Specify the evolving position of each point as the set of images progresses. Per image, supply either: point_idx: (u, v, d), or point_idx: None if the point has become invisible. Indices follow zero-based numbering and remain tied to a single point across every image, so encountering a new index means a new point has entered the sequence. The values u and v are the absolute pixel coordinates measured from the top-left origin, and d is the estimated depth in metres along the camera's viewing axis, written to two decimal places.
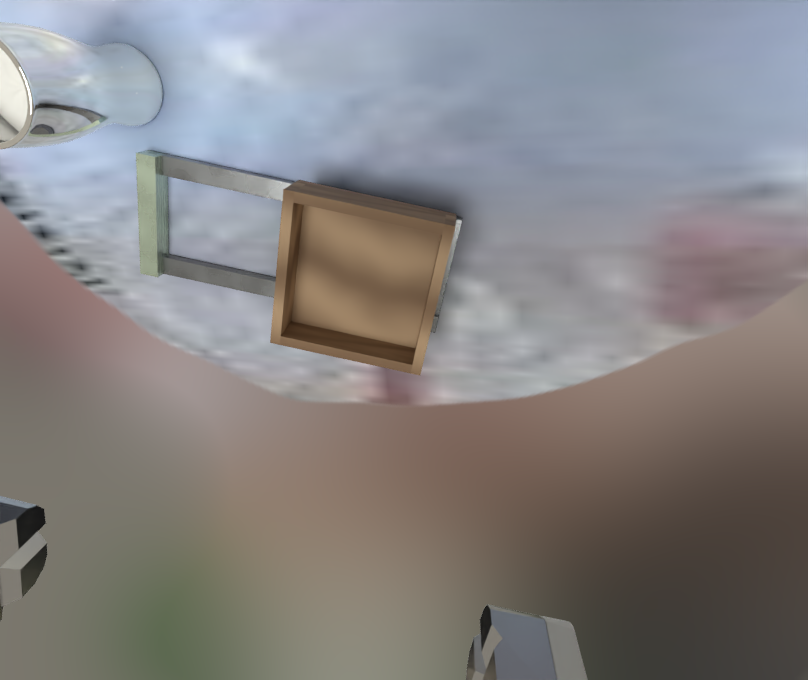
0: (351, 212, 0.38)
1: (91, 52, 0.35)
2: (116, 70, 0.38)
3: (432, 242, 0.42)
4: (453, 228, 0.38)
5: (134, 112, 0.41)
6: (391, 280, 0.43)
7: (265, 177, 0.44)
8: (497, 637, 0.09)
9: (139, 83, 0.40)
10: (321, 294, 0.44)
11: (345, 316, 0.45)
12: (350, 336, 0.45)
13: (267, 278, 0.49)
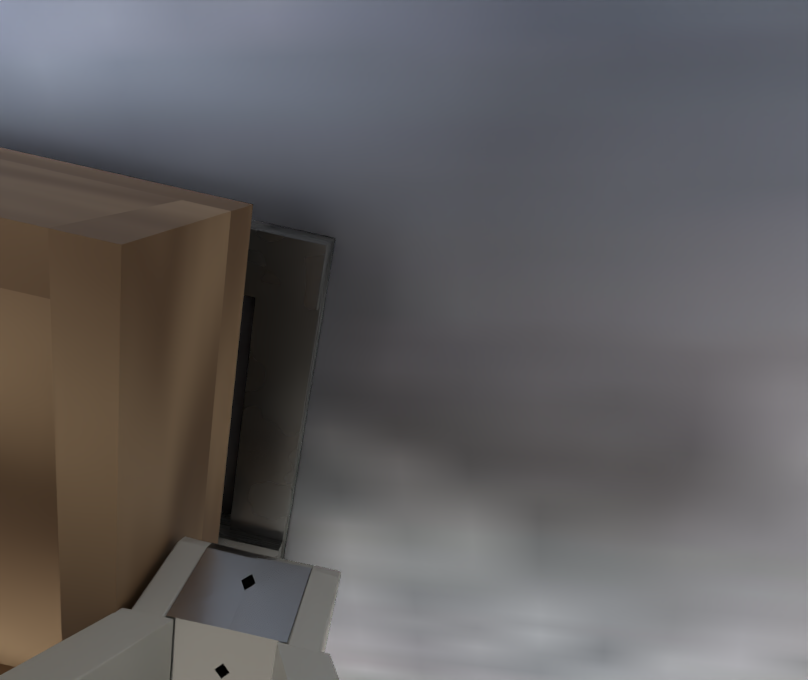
0: None
1: None
2: None
3: None
4: (110, 258, 0.06)
5: None
6: (11, 475, 0.11)
7: None
8: (252, 583, 0.09)
9: None
10: None
11: None
12: None
13: None
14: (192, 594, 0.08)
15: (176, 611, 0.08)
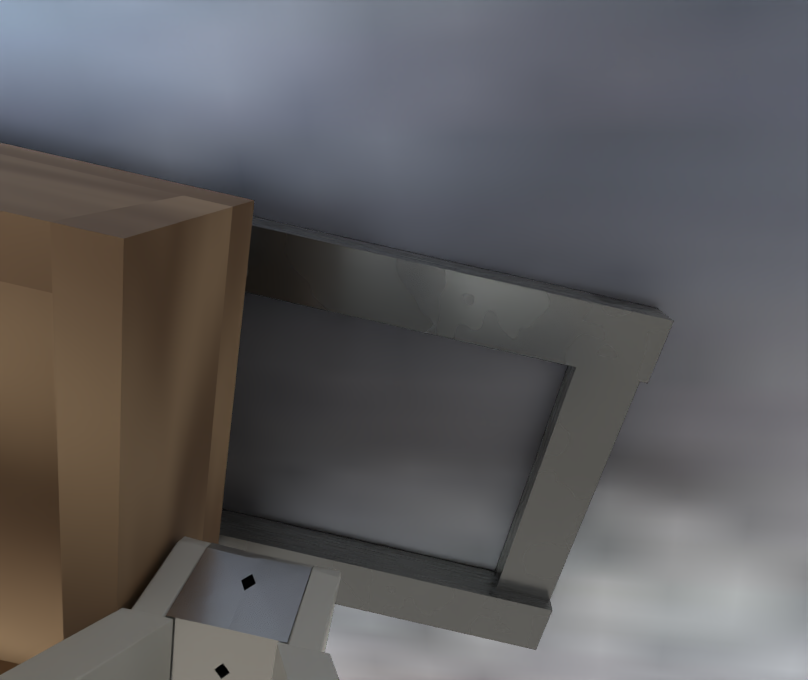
0: None
1: None
2: None
3: None
4: (112, 252, 0.06)
5: None
6: (13, 471, 0.11)
7: None
8: (253, 583, 0.09)
9: None
10: None
11: None
12: None
13: None
14: (192, 594, 0.08)
15: (176, 611, 0.08)
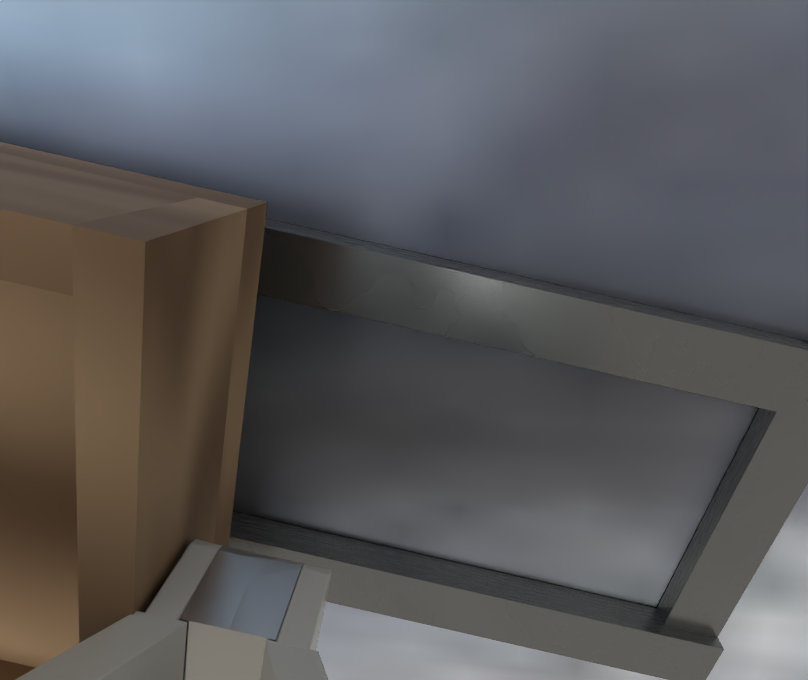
0: None
1: None
2: None
3: None
4: (134, 255, 0.06)
5: None
6: (24, 473, 0.11)
7: None
8: (242, 581, 0.09)
9: None
10: None
11: None
12: None
13: None
14: (205, 597, 0.08)
15: (189, 614, 0.08)
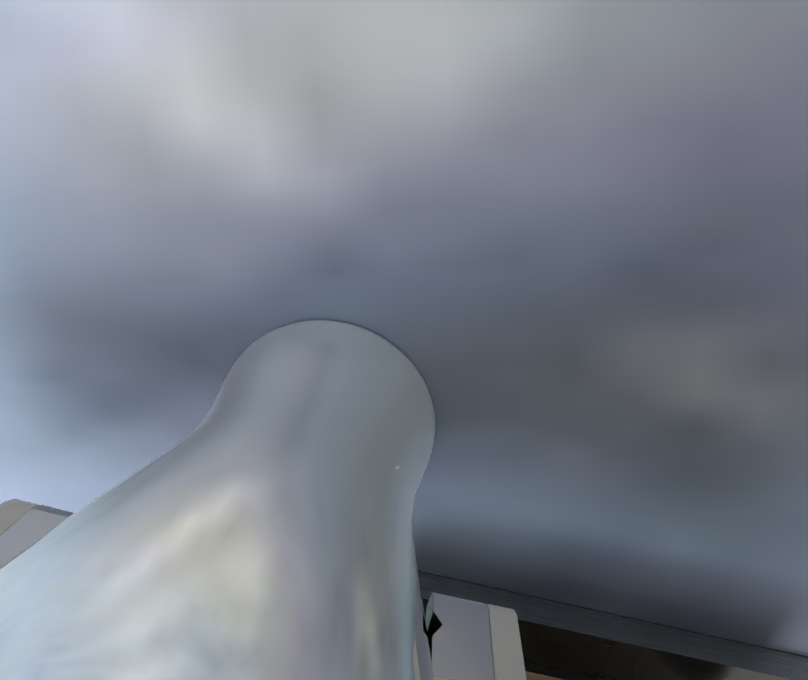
0: None
1: (377, 548, 0.07)
2: (405, 514, 0.10)
3: None
4: None
5: None
6: None
7: (690, 649, 0.16)
8: (438, 624, 0.09)
9: (415, 473, 0.12)
10: None
11: None
12: None
13: None
14: None
15: None
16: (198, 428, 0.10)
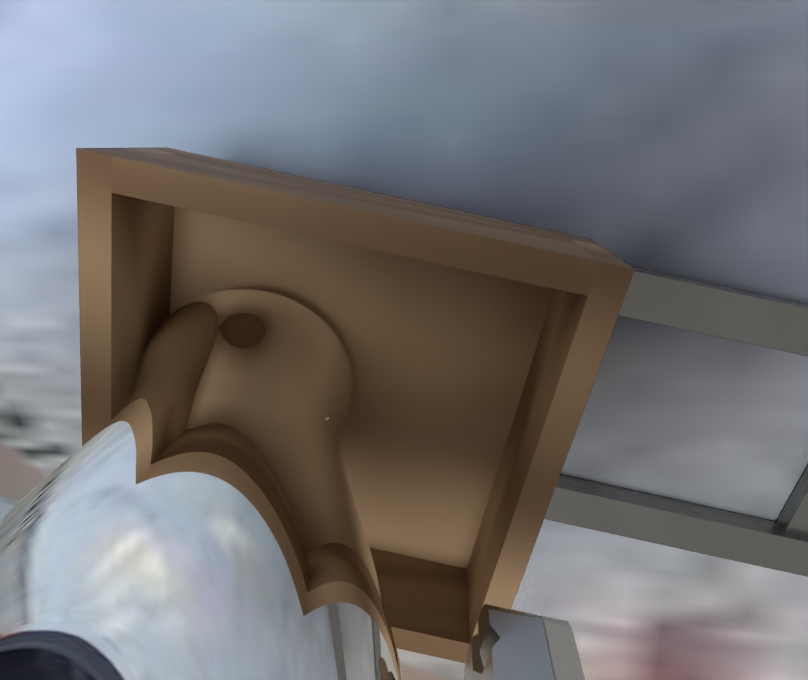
0: (297, 224, 0.12)
1: (325, 483, 0.09)
2: (339, 457, 0.11)
3: (526, 315, 0.15)
4: (627, 276, 0.12)
5: None
6: (411, 410, 0.17)
7: None
8: (495, 636, 0.09)
9: (341, 422, 0.14)
10: None
11: None
12: None
13: None
14: None
15: None
16: (136, 399, 0.11)
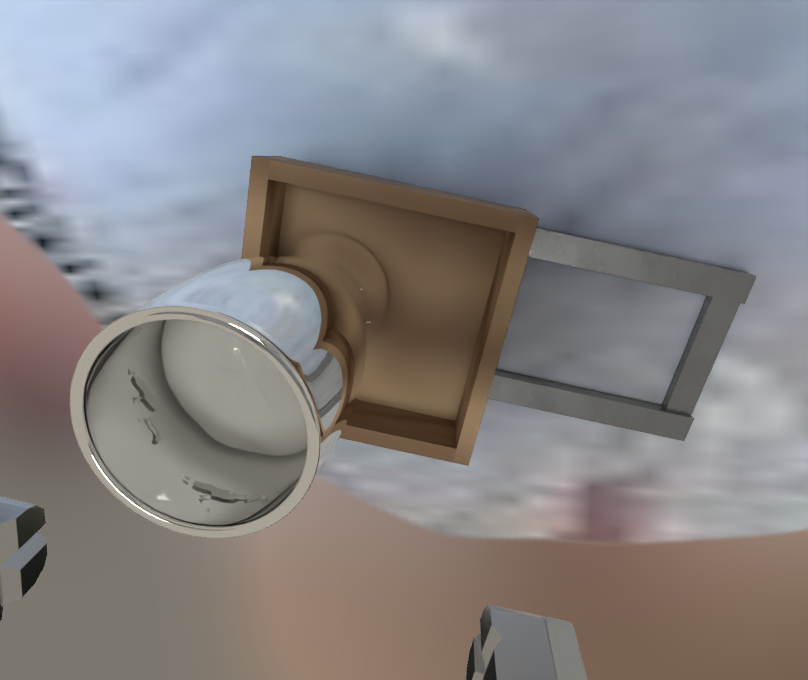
0: (365, 195, 0.23)
1: (346, 287, 0.20)
2: (362, 301, 0.22)
3: (488, 253, 0.26)
4: (535, 222, 0.23)
5: None
6: (421, 314, 0.28)
7: None
8: (497, 637, 0.09)
9: (373, 305, 0.25)
10: None
11: None
12: None
13: None
14: None
15: None
16: None
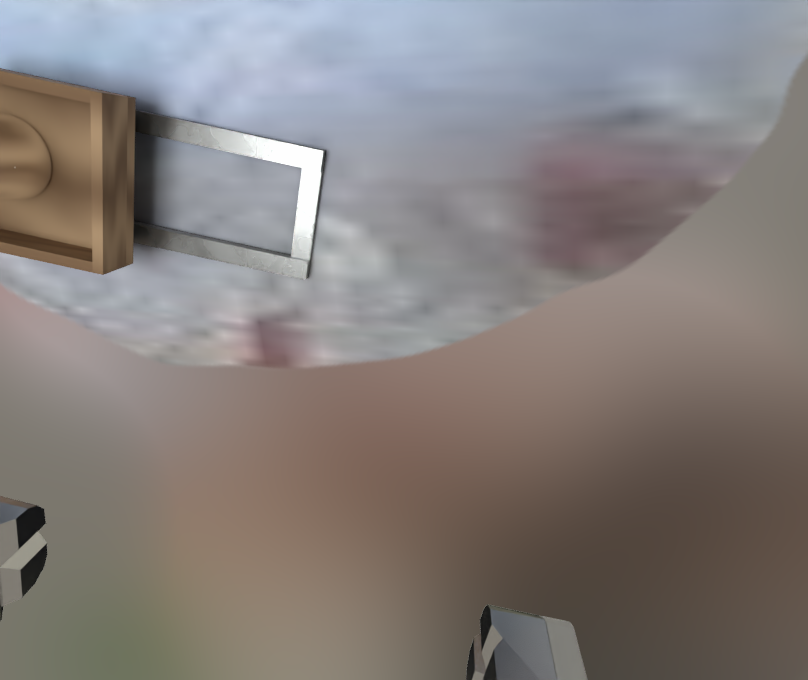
0: None
1: None
2: None
3: None
4: (100, 95, 0.35)
5: (13, 186, 0.38)
6: (76, 173, 0.40)
7: None
8: (497, 637, 0.09)
9: (19, 157, 0.37)
10: None
11: (37, 217, 0.42)
12: (43, 239, 0.42)
13: None
14: None
15: None
16: None
